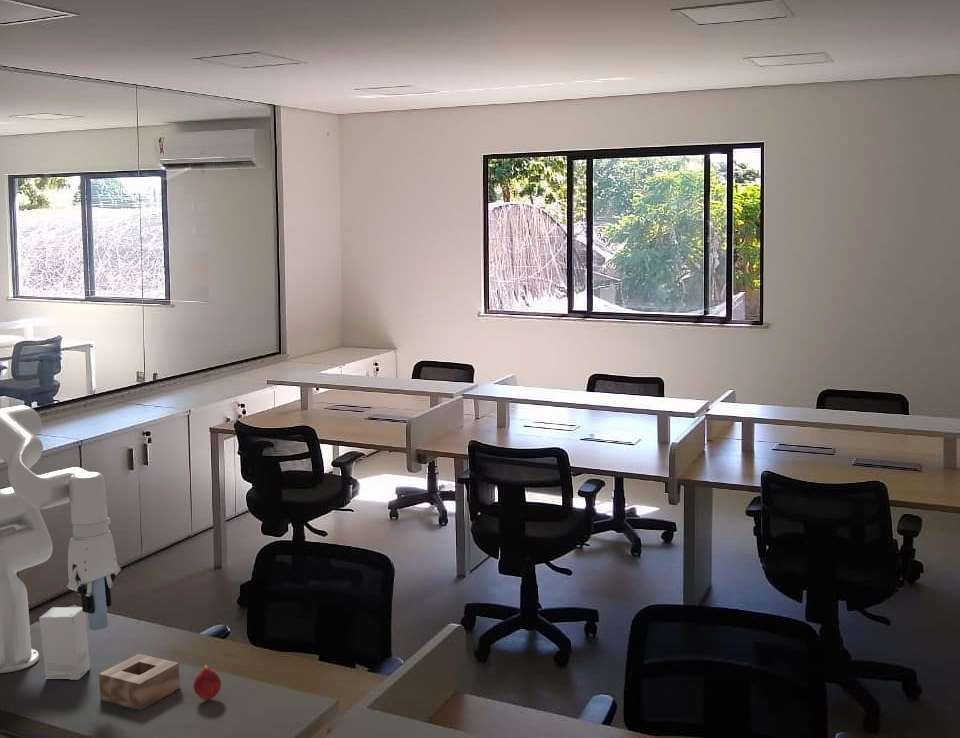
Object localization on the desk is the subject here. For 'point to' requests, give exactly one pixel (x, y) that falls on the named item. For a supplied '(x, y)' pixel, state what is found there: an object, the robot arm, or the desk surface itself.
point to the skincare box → (64, 643)
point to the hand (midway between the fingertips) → (97, 607)
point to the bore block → (139, 681)
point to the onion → (207, 684)
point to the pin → (98, 606)
